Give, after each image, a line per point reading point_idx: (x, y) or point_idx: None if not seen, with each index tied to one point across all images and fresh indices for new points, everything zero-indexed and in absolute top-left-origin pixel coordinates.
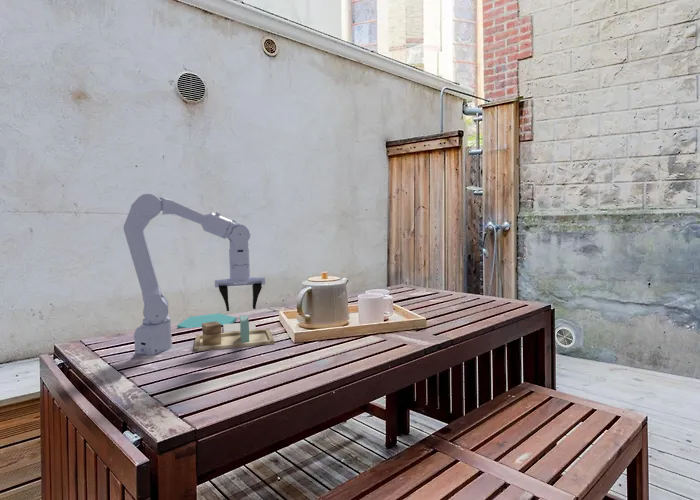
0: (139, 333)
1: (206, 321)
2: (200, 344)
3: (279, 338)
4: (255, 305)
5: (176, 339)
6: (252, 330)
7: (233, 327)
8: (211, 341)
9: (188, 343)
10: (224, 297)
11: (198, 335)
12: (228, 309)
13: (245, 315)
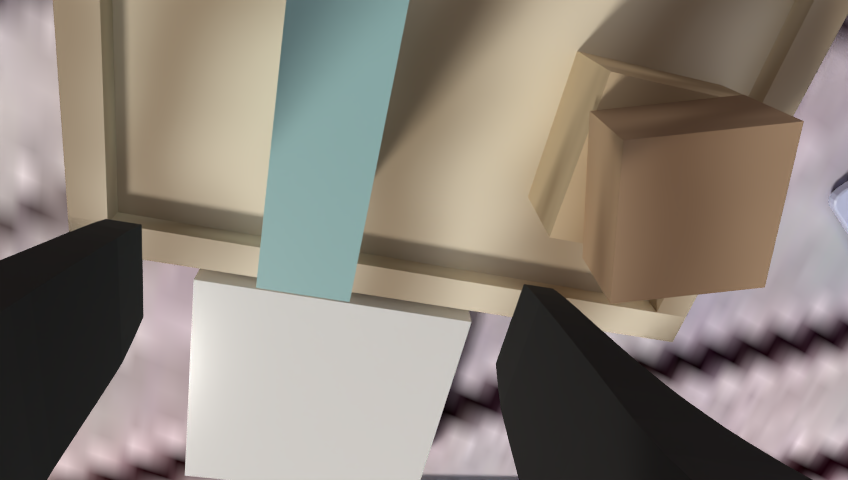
0: None
1: None
2: None
3: (7, 66)
4: (68, 232)
5: (731, 404)
6: (234, 260)
7: (367, 404)
8: (669, 76)
9: (712, 293)
10: (709, 434)
11: (664, 322)
12: (542, 292)
13: (280, 280)
